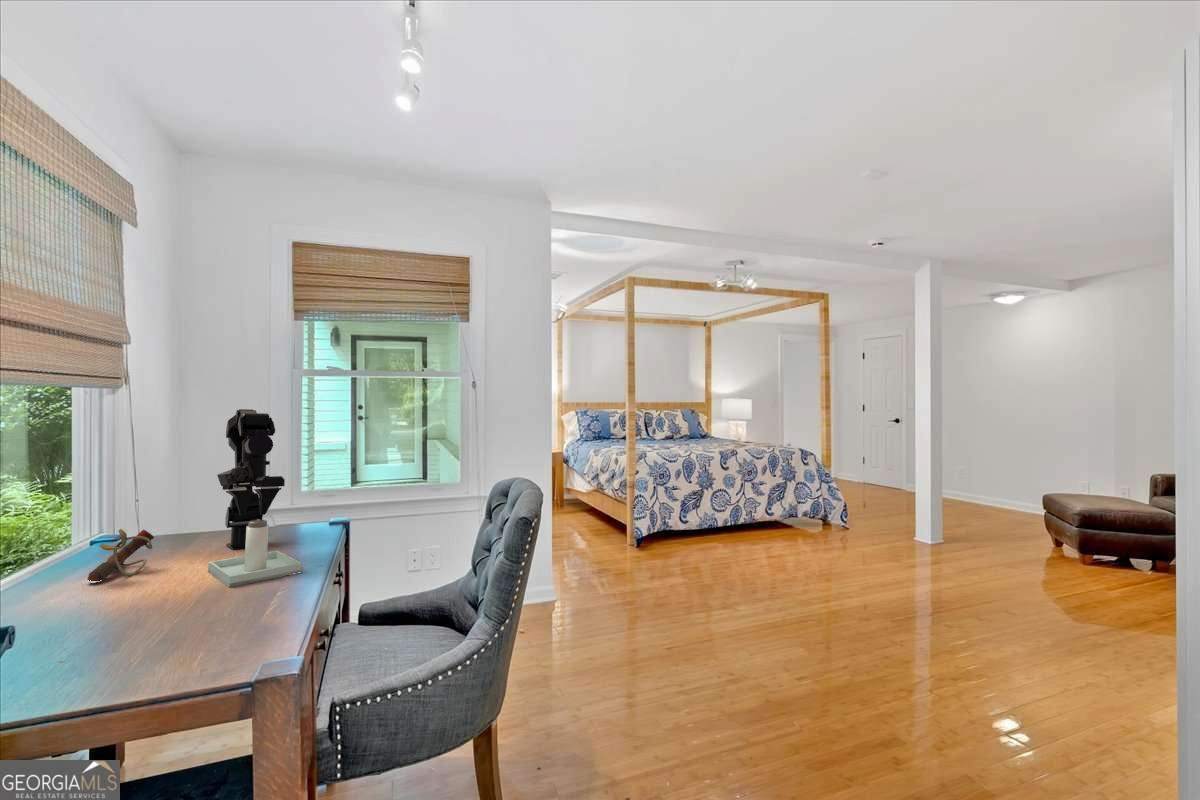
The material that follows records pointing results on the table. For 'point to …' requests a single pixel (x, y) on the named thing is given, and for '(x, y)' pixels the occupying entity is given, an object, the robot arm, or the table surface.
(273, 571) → the bin
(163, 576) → the table surface
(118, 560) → the slingshot
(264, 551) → the jar with lid
